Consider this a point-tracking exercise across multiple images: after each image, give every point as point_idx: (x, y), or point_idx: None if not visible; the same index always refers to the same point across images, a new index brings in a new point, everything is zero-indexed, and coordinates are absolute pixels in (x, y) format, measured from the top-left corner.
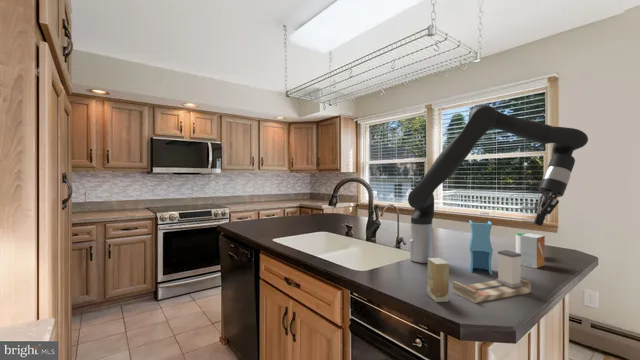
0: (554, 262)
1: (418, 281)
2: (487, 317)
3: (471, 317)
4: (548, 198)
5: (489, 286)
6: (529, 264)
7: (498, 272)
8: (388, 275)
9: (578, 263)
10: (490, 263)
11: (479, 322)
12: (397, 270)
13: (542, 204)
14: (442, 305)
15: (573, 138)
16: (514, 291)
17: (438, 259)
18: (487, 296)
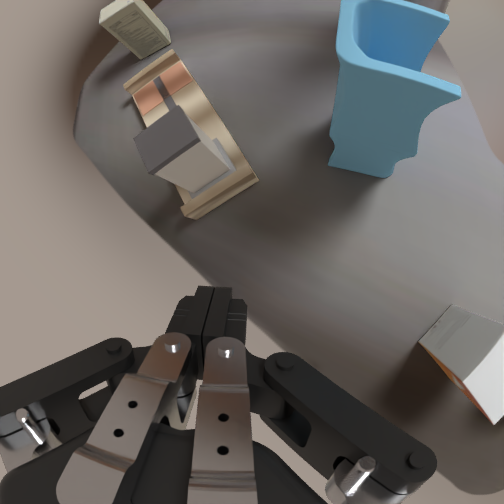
0: (471, 416)
1: (233, 11)
2: (93, 111)
3: (94, 92)
4: (36, 461)
5: None
6: (436, 327)
7: (207, 136)
8: None
9: (454, 464)
10: (335, 148)
11: (83, 102)
12: None
13: (115, 402)
14: (128, 55)
15: None
16: None
17: (121, 4)
18: (140, 112)
